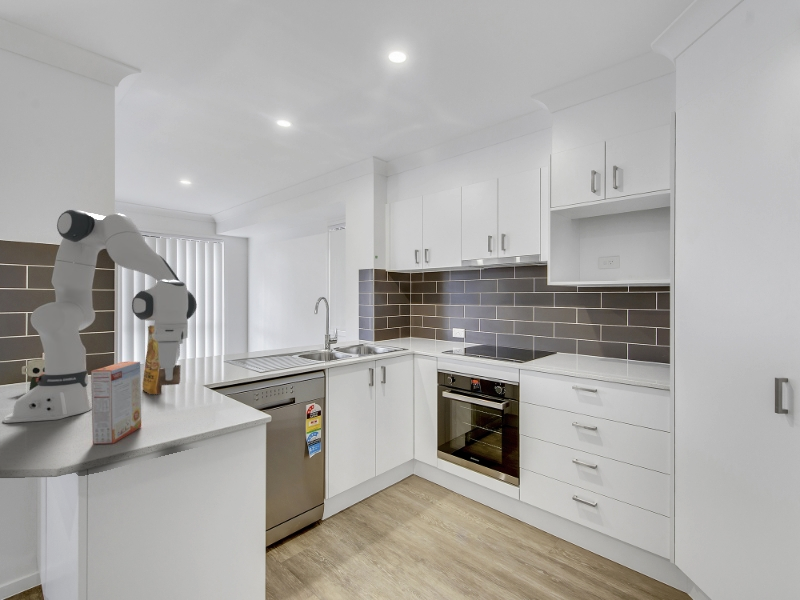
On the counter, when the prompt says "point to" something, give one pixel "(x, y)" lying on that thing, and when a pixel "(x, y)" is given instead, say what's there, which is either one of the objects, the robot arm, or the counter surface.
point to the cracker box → (115, 401)
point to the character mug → (34, 371)
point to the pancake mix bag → (152, 365)
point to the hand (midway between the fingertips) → (170, 377)
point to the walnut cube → (175, 376)
